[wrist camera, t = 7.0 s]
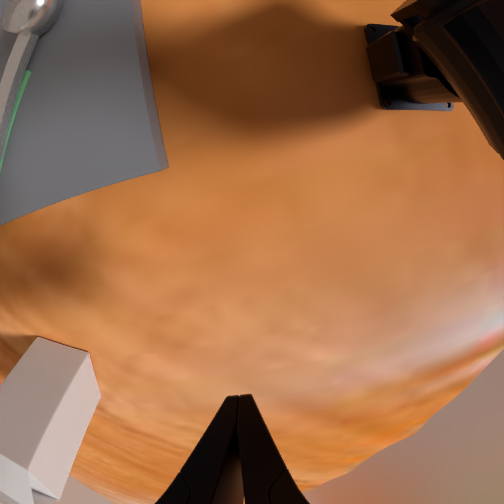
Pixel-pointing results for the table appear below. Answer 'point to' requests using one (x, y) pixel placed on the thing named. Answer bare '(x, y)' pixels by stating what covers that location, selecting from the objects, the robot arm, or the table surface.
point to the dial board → (80, 108)
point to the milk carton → (44, 420)
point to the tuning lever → (22, 49)
